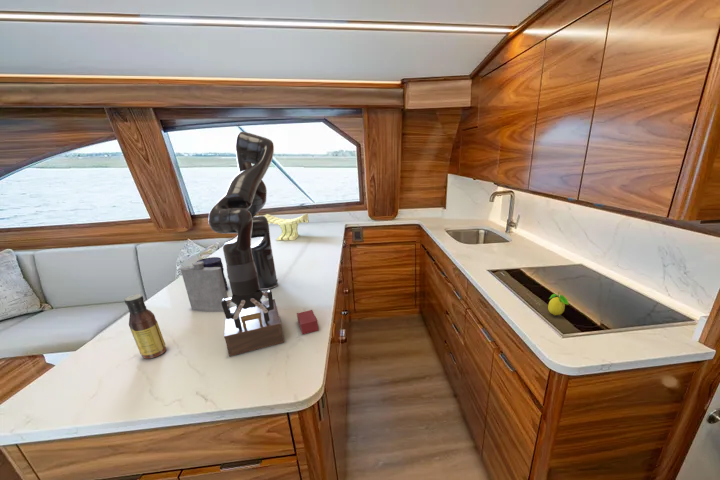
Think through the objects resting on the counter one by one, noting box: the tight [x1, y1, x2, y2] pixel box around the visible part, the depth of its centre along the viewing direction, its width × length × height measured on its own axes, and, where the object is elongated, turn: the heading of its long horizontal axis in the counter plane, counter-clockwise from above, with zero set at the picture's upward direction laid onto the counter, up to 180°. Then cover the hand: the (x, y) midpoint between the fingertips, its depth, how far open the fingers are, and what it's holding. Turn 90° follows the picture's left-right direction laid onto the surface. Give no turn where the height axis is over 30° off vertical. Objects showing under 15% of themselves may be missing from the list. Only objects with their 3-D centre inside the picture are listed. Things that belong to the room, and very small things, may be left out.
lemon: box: [547, 292, 569, 317], centre depth 110 cm, size 7×6×10 cm
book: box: [296, 309, 319, 335], centre depth 106 cm, size 9×6×4 cm, turn 27°
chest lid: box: [223, 298, 282, 340], centre depth 98 cm, size 20×16×5 cm
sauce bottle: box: [123, 293, 167, 360], centre depth 89 cm, size 6×6×20 cm
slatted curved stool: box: [263, 212, 310, 241], centre depth 227 cm, size 30×16×18 cm, turn 93°
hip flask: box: [180, 261, 231, 312], centre depth 117 cm, size 16×4×20 cm, turn 84°
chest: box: [224, 325, 285, 357], centre depth 101 cm, size 19×16×7 cm
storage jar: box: [196, 256, 229, 292], centre depth 134 cm, size 10×10×15 cm
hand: (253, 325), depth 93 cm, fingers open, 7 cm apart
